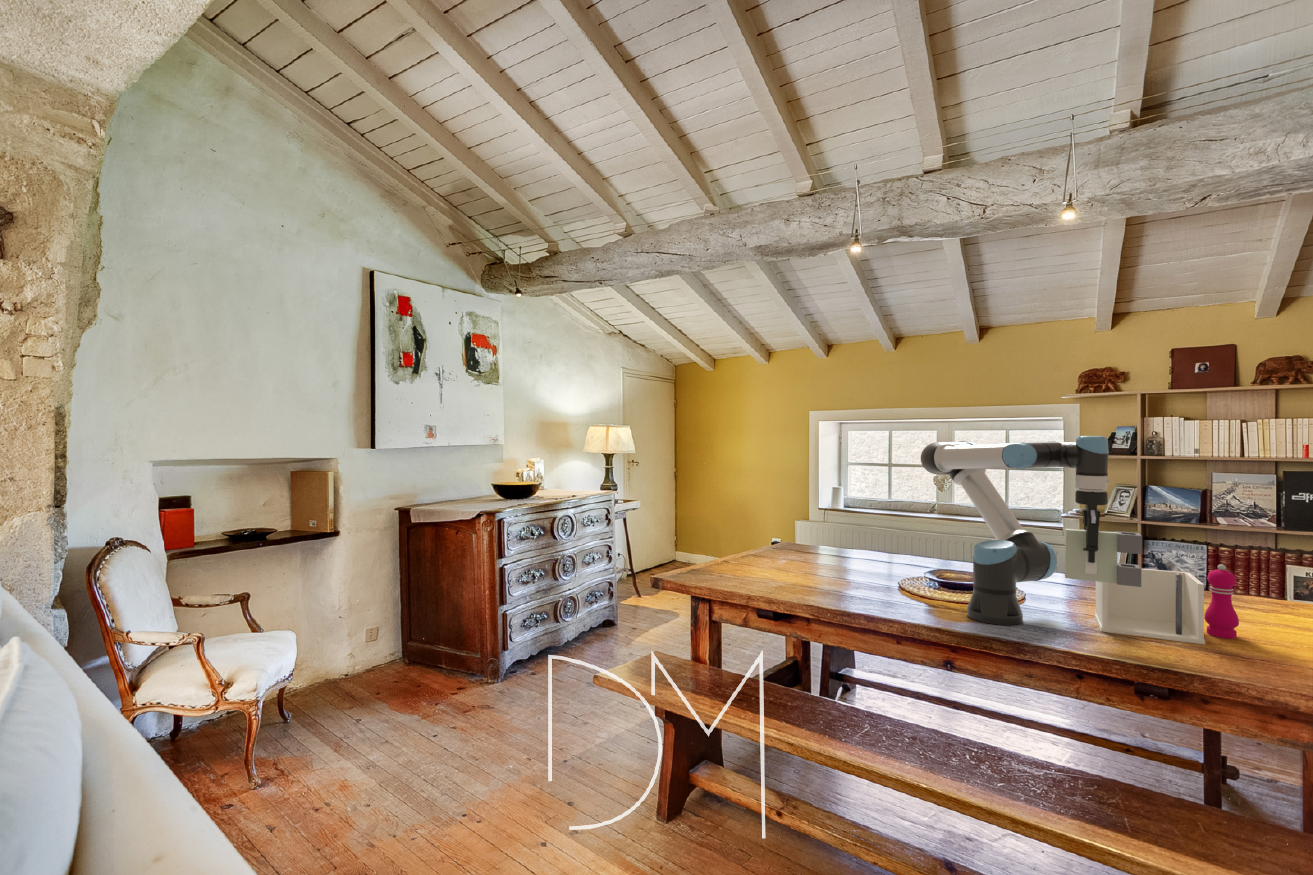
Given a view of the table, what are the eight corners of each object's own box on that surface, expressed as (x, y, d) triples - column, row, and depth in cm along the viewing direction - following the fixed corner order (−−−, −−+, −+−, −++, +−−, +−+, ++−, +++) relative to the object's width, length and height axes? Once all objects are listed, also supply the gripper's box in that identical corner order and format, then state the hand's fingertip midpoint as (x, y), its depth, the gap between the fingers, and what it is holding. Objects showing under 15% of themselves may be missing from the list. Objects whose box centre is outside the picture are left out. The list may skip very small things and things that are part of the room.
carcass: (1101, 631, 179) (1101, 575, 179) (1094, 616, 193) (1094, 564, 193) (1205, 644, 168) (1205, 584, 168) (1190, 627, 182) (1190, 572, 182)
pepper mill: (1245, 640, 171) (1246, 567, 171) (1215, 638, 173) (1215, 566, 172) (1227, 631, 178) (1227, 562, 178) (1198, 630, 180) (1198, 561, 179)
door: (1065, 579, 178) (1066, 530, 178) (1064, 575, 183) (1065, 527, 182) (1141, 587, 170) (1142, 535, 169) (1137, 582, 174) (1138, 532, 174)
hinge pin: (1176, 634, 173) (1176, 574, 172) (1175, 632, 174) (1175, 573, 174) (1182, 635, 172) (1182, 574, 172) (1181, 633, 173) (1181, 573, 173)
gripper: (1111, 493, 168) (1110, 580, 169) (1104, 488, 182) (1102, 568, 182) (1078, 492, 172) (1076, 576, 172) (1073, 487, 185) (1072, 565, 186)
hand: (1090, 572), depth 177 cm, fingers closed on door, 2 cm apart
